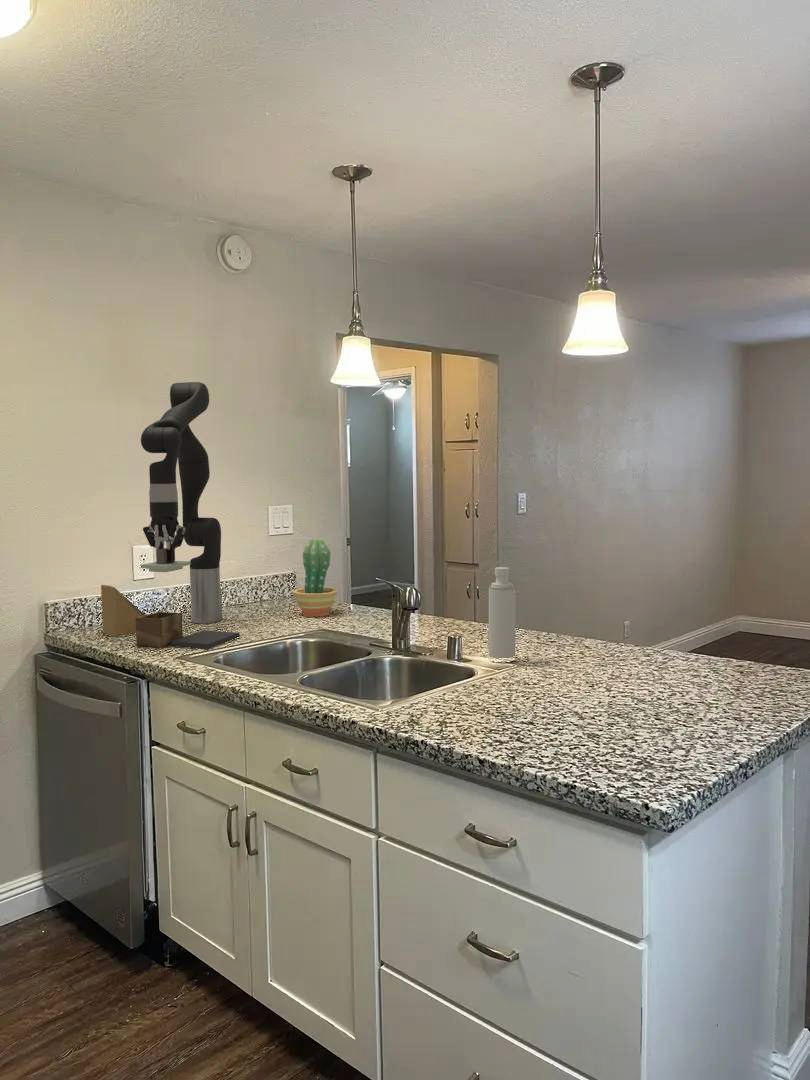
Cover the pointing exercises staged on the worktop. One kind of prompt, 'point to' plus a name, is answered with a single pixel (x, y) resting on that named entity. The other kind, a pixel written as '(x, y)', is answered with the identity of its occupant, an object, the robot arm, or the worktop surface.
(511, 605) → the grey bottle
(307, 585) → the potted cactus
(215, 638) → the plate
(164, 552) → the lid
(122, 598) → the magazine file holder
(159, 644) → the walnut box
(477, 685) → the worktop surface
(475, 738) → the worktop surface
